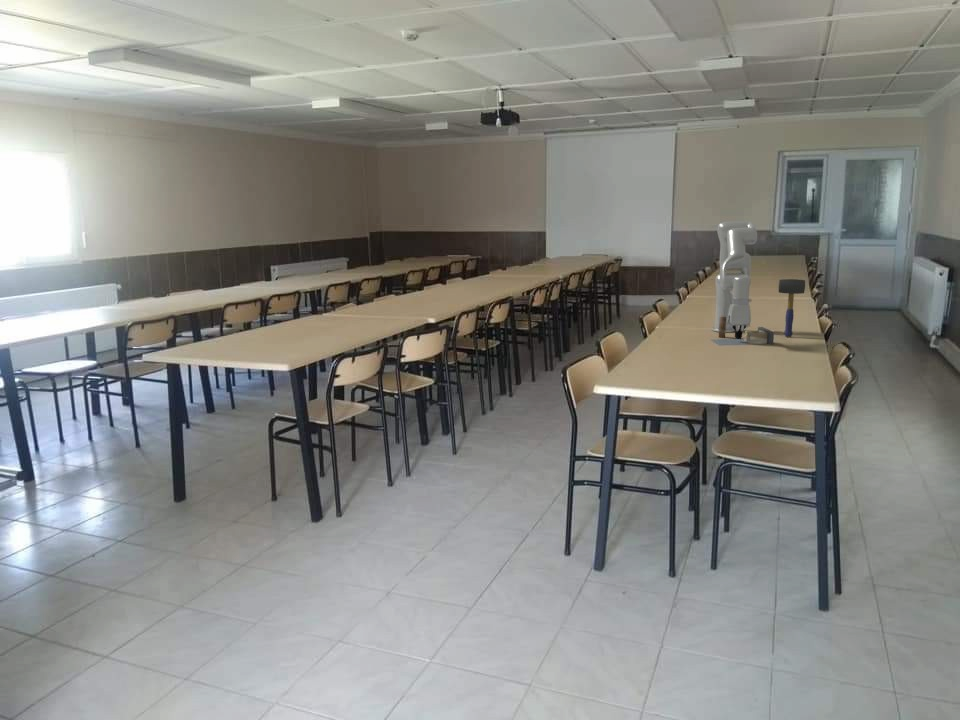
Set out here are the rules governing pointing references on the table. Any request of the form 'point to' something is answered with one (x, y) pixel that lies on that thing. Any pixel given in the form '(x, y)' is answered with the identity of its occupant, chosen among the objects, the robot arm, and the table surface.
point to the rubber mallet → (790, 299)
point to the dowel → (722, 327)
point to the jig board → (741, 341)
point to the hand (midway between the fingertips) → (738, 338)
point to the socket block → (756, 337)
